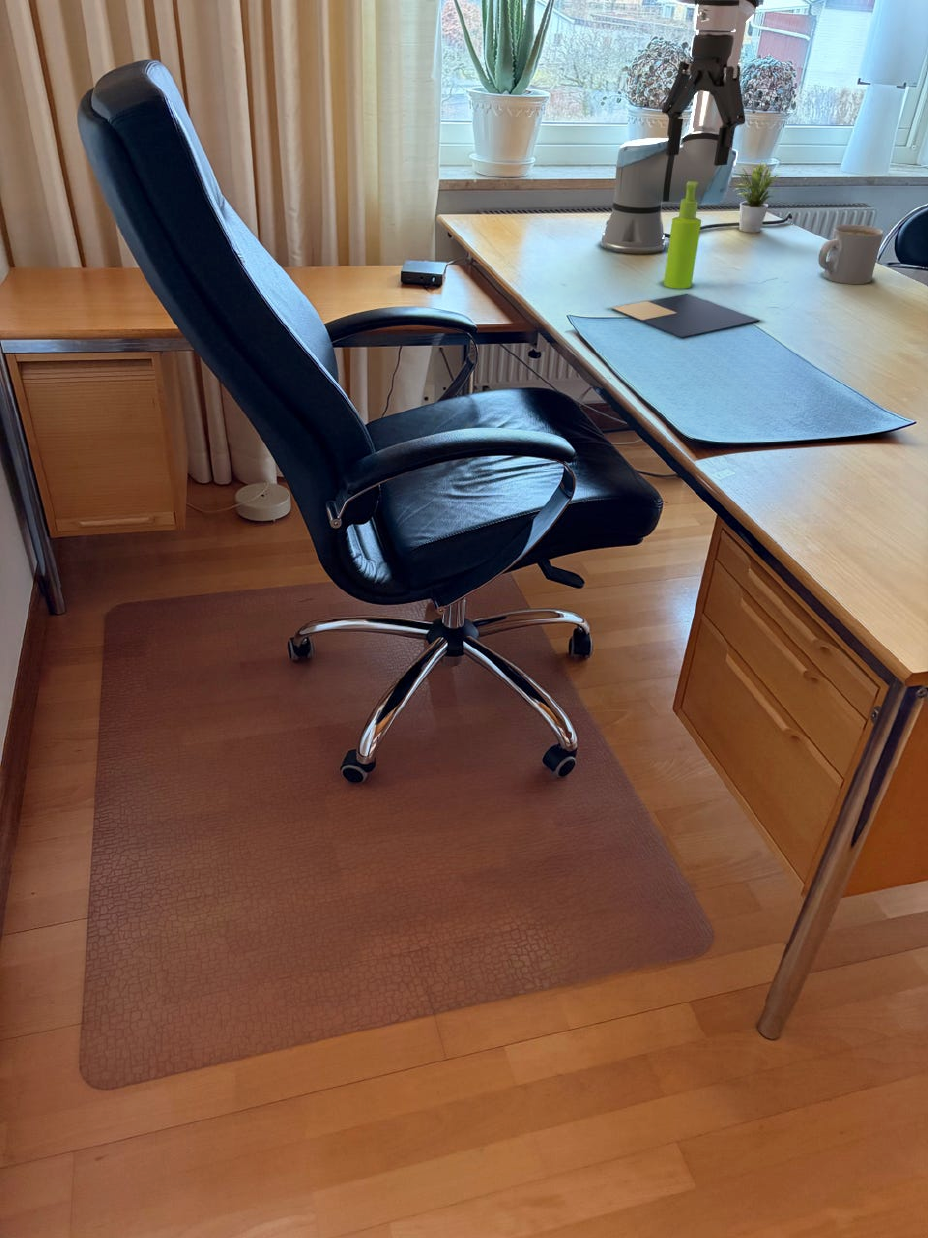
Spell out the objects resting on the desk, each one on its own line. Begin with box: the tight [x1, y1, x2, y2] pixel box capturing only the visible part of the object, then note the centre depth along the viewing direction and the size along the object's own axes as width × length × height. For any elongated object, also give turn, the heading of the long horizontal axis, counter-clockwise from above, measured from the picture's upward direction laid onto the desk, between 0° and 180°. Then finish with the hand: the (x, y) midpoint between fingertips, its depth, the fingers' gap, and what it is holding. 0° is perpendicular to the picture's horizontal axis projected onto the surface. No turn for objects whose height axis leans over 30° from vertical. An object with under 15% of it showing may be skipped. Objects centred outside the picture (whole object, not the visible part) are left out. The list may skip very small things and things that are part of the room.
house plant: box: [733, 162, 782, 234], centre depth 235 cm, size 14×14×16 cm
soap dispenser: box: [663, 181, 702, 290], centre depth 190 cm, size 6×7×20 cm
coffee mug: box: [817, 224, 884, 285], centre depth 199 cm, size 13×10×10 cm
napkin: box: [611, 293, 760, 339], centre depth 178 cm, size 20×20×1 cm
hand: (695, 159), depth 182 cm, fingers open, 13 cm apart
